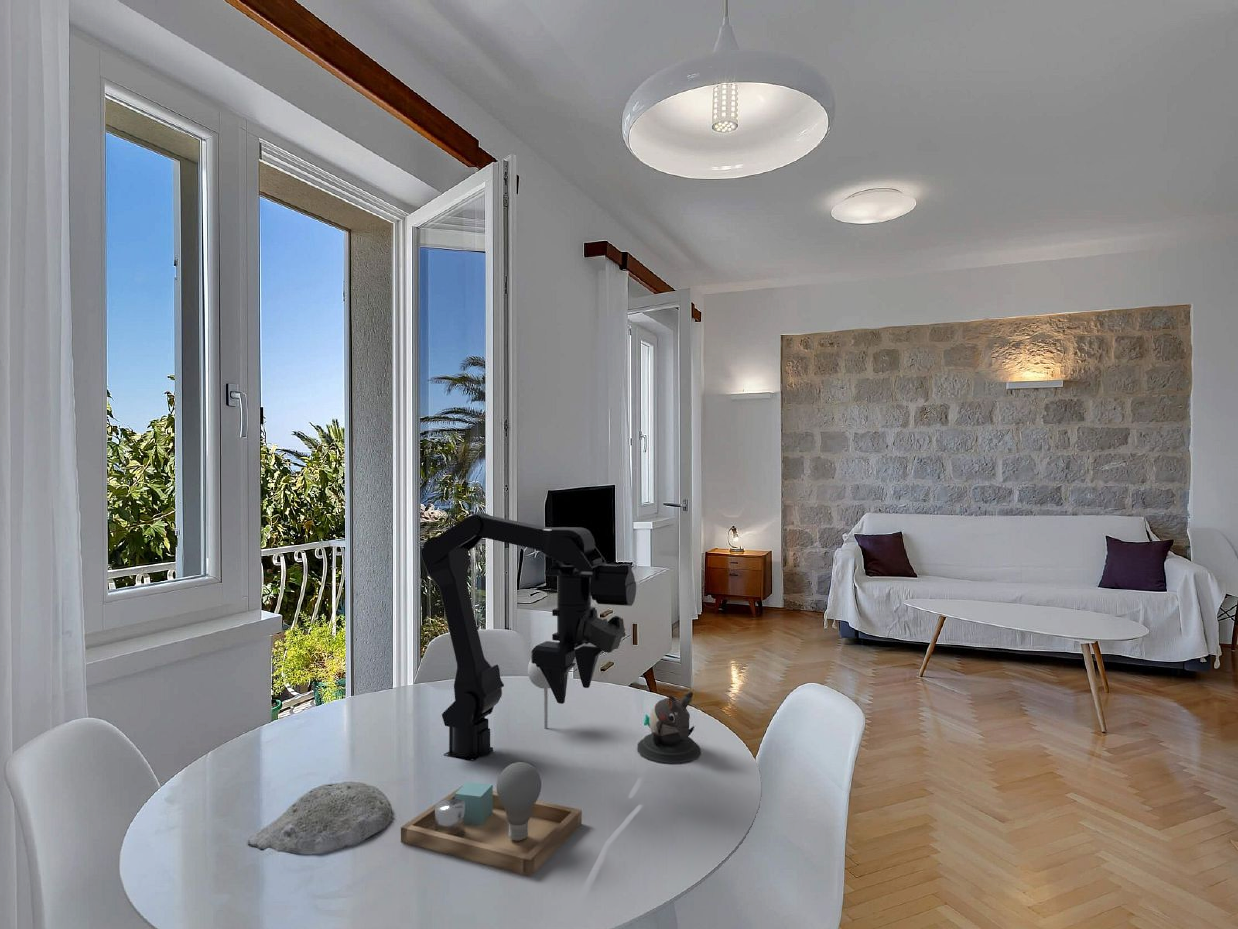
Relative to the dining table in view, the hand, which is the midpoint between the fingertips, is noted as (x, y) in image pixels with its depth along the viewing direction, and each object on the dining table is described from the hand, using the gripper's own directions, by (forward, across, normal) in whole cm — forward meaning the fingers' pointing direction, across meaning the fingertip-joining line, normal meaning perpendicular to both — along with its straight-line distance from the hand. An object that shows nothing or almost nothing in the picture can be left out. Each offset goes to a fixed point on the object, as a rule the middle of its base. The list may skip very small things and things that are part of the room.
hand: (574, 695), depth 118 cm
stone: (+13, -31, +22) cm, 40 cm away
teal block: (+12, -21, +5) cm, 25 cm away
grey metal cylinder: (+12, -27, +5) cm, 30 cm away
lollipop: (+13, +15, +14) cm, 24 cm away
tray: (+12, -24, 0) cm, 27 cm away
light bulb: (+12, -24, -4) cm, 27 cm away
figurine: (+13, +14, -12) cm, 23 cm away
